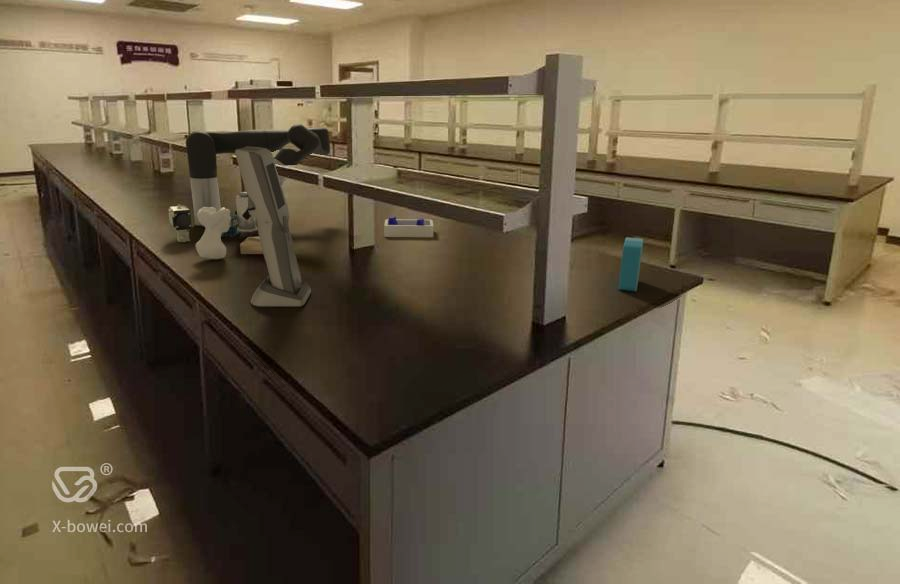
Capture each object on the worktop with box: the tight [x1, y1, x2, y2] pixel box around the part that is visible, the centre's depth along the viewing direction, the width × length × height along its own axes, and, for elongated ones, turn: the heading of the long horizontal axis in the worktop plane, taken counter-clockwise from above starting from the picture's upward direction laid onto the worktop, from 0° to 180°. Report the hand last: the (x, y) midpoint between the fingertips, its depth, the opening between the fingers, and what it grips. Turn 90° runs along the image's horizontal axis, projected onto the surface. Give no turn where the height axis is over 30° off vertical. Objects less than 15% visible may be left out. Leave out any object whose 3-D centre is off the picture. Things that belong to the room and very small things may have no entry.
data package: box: [618, 237, 644, 292], centre depth 152 cm, size 12×4×12 cm, turn 161°
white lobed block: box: [195, 207, 231, 260], centre depth 168 cm, size 10×11×15 cm
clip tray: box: [383, 218, 434, 238], centre depth 207 cm, size 11×17×4 cm, turn 94°
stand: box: [239, 236, 264, 255], centre depth 181 cm, size 10×10×3 cm
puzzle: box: [221, 215, 242, 237], centre depth 199 cm, size 6×6×6 cm
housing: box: [235, 191, 258, 233], centre depth 187 cm, size 6×6×12 cm
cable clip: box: [388, 215, 425, 225], centre depth 206 cm, size 12×4×6 cm, turn 75°
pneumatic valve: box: [168, 204, 193, 243], centre depth 188 cm, size 6×12×12 cm, turn 32°
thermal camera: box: [234, 146, 312, 308], centre depth 133 cm, size 12×13×35 cm
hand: (240, 216), depth 186 cm, fingers closed on housing, 5 cm apart
